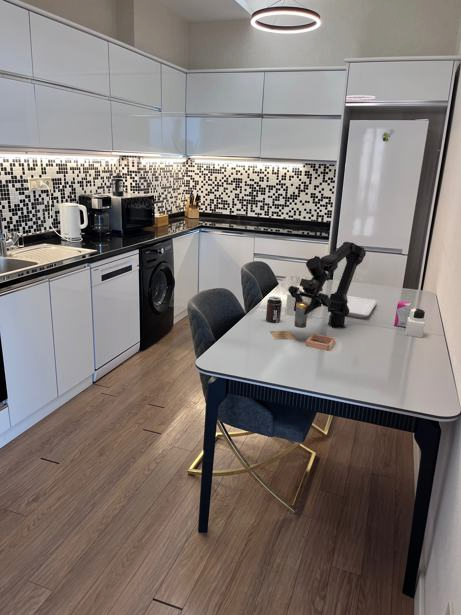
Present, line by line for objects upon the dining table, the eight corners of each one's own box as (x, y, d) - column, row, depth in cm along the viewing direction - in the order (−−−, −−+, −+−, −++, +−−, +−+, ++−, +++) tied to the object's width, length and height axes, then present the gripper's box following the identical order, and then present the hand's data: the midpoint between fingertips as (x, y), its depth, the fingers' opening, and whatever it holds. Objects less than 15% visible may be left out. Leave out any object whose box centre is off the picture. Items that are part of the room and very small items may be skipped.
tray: (334, 315, 235) (335, 309, 234) (346, 300, 262) (347, 295, 261) (368, 321, 228) (369, 315, 227) (376, 305, 256) (377, 299, 255)
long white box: (306, 318, 227) (308, 297, 224) (285, 315, 231) (287, 294, 228) (319, 302, 256) (321, 283, 253) (300, 299, 260) (302, 281, 256)
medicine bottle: (421, 333, 215) (426, 308, 212) (422, 338, 209) (426, 313, 205) (405, 330, 218) (409, 306, 214) (405, 335, 211) (410, 310, 208)
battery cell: (302, 323, 197) (304, 301, 194) (308, 327, 193) (310, 304, 190) (292, 324, 196) (294, 302, 192) (298, 328, 191) (300, 305, 188)
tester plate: (291, 332, 207) (291, 330, 206) (297, 340, 197) (297, 339, 197) (269, 332, 205) (269, 331, 205) (275, 341, 195) (275, 339, 195)
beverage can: (279, 325, 215) (281, 300, 211) (264, 323, 216) (266, 299, 213) (280, 320, 221) (282, 296, 218) (266, 319, 223) (268, 295, 219)
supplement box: (407, 324, 226) (411, 302, 223) (406, 328, 221) (410, 305, 217) (395, 322, 228) (398, 300, 225) (393, 326, 223) (397, 303, 220)
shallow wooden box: (311, 340, 199) (312, 333, 198) (334, 344, 195) (335, 338, 194) (305, 347, 190) (306, 340, 190) (329, 352, 187) (330, 345, 186)
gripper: (292, 267, 196) (274, 296, 191) (330, 275, 184) (312, 307, 180) (301, 282, 204) (284, 310, 200) (338, 291, 192) (321, 322, 188)
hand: (299, 312), depth 191 cm, fingers closed on battery cell, 5 cm apart
